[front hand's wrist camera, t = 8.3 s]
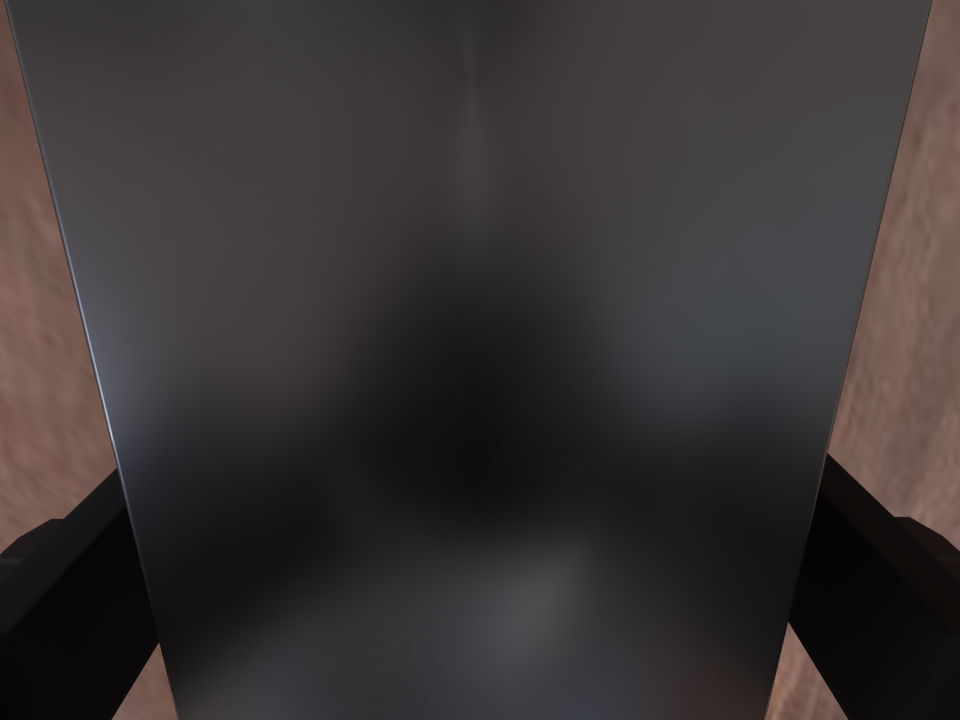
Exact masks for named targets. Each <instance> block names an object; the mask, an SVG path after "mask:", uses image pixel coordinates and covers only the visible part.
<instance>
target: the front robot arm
mask: <svg viewBox="0 0 960 720" xmlns="http://www.w3.org/2000/svg"><path fill="white" fill-rule="evenodd" d="M788 622H789V624H790V625H791V627H792V629H793V630H794V632H795V633H796V635H797V637H798V638H799V640H800V642H801V643H802V645H803V646H804V648H805V650H806V651H807V653H808V655H809V656H810V658H811V659H812V661H813V663H814V664H815V666H816V668H817V669H818V671H819V672H820V674H821V676H822V677H823V679H824V681H825V682H826V684H827V685H828V687H829V689H830V690H831V692H832V694H833V695H834V697H835V699H836V700H837V702H838V703H839V705H840V707H841V708H842V710H843V712H844V713H845V715H846V716H847V718H848V720H960V551H959V550H958V549H956V548H955V547H954V546H953V545H952V544H951V543H950V542H949V541H948V540H946V539H945V538H944V537H943V536H942V535H940V534H938V533H937V532H935V531H933V530H931V529H930V528H928V527H926V526H924V525H923V524H921V523H919V522H917V521H916V520H914V519H912V518H910V517H894V516H893V515H892V514H891V513H890V512H888V511H887V510H886V509H885V508H884V507H883V506H882V505H881V504H880V503H879V502H878V501H877V500H876V499H875V498H874V497H873V496H872V495H871V494H870V493H869V492H868V491H867V490H866V489H864V488H863V487H862V486H861V485H860V484H859V483H858V482H857V481H856V480H855V479H854V478H853V477H852V476H851V475H850V474H849V473H848V472H847V471H846V470H845V469H844V468H843V467H842V466H840V465H839V464H838V463H837V462H836V461H835V460H834V459H833V458H832V457H831V456H830V455H829V454H828V453H827V456H826V461H825V465H824V469H823V474H822V478H821V482H820V487H819V491H818V495H817V499H816V504H815V508H814V512H813V517H812V521H811V525H810V530H809V534H808V538H807V542H806V547H805V551H804V555H803V560H802V564H801V568H800V573H799V577H798V581H797V586H796V590H795V594H794V598H793V603H792V607H791V611H790V616H789V620H788ZM158 643H159V639H158V634H157V630H156V626H155V622H154V618H153V614H152V610H151V605H150V601H149V597H148V593H147V589H146V585H145V581H144V577H143V572H142V568H141V564H140V560H139V556H138V552H137V548H136V544H135V539H134V535H133V531H132V527H131V523H130V519H129V515H128V510H127V506H126V502H125V498H124V494H123V490H122V486H121V482H120V477H119V473H118V469H117V468H116V469H115V470H114V471H113V472H112V473H111V474H110V475H109V476H108V477H107V478H106V479H105V480H104V481H103V482H102V483H101V484H100V485H99V486H98V487H97V488H96V489H95V490H93V491H92V492H91V493H90V494H89V495H88V496H87V497H86V498H85V499H84V500H83V501H82V502H81V503H80V504H79V505H78V506H77V507H76V508H75V509H74V510H73V511H72V512H71V513H69V514H68V515H67V516H66V517H65V518H64V519H50V520H49V521H47V522H45V523H43V524H42V525H40V526H38V527H36V528H35V529H33V530H31V531H30V532H28V533H26V534H24V535H23V536H21V537H19V538H18V539H17V540H15V541H14V542H13V543H12V544H11V545H10V546H9V547H8V548H7V549H6V550H4V551H3V552H2V553H1V554H0V720H112V718H113V716H114V715H115V713H116V712H117V710H118V708H119V707H120V705H121V703H122V702H123V700H124V699H125V697H126V695H127V694H128V692H129V690H130V689H131V687H132V686H133V684H134V682H135V681H136V679H137V677H138V676H139V674H140V672H141V671H142V669H143V668H144V666H145V664H146V663H147V661H148V659H149V658H150V656H151V655H152V653H153V651H154V650H155V648H156V646H157V645H158Z"/></svg>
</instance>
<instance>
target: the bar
mask: <svg viewBox="0 0 960 720" xmlns="http://www.w3.org/2000/svg"><path fill="white" fill-rule="evenodd" d="M4 2H5V7H6V11H7V15H8V19H9V23H10V27H11V31H12V35H13V40H14V44H15V48H16V52H17V56H18V60H19V64H20V69H21V73H22V77H23V81H24V85H25V89H26V93H27V97H28V102H29V106H30V110H31V114H32V118H33V122H34V126H35V130H36V135H37V139H38V143H39V147H40V151H41V155H42V159H43V164H44V168H45V172H46V176H47V180H48V184H49V188H50V192H51V197H52V201H53V205H54V209H55V213H56V217H57V221H58V225H59V230H60V234H61V238H62V242H63V246H64V250H65V254H66V259H67V263H68V267H69V271H70V275H71V279H72V283H73V287H74V292H75V296H76V300H77V304H78V308H79V312H80V316H81V320H82V325H83V329H84V333H85V337H86V341H87V345H88V349H89V354H90V358H91V362H92V366H93V370H94V374H95V378H96V382H97V387H98V391H99V395H100V399H101V403H102V407H103V411H104V415H105V420H106V424H107V428H108V432H109V436H110V440H111V444H112V449H113V453H114V457H115V461H116V465H117V469H118V473H119V477H120V482H121V486H122V490H123V494H124V498H125V502H126V506H127V510H128V515H129V519H130V523H131V527H132V531H133V535H134V539H135V544H136V548H137V552H138V556H139V560H140V564H141V568H142V572H143V577H144V581H145V585H146V589H147V593H148V597H149V601H150V605H151V610H152V614H153V618H154V622H155V626H156V630H157V634H158V639H159V643H160V647H161V651H162V655H163V659H164V663H165V667H166V672H167V676H168V680H169V684H170V688H171V692H172V696H173V700H174V705H175V709H176V713H177V717H178V720H765V719H766V715H767V710H768V706H769V702H770V697H771V693H772V689H773V685H774V680H775V676H776V672H777V667H778V663H779V659H780V654H781V650H782V646H783V641H784V637H785V633H786V629H787V624H788V620H789V616H790V611H791V607H792V603H793V598H794V594H795V590H796V586H797V581H798V577H799V573H800V568H801V564H802V560H803V555H804V551H805V547H806V542H807V538H808V534H809V530H810V525H811V521H812V517H813V512H814V508H815V504H816V499H817V495H818V491H819V487H820V482H821V478H822V474H823V469H824V465H825V461H826V456H827V452H828V448H829V443H830V439H831V435H832V431H833V426H834V422H835V418H836V413H837V409H838V405H839V400H840V396H841V392H842V388H843V383H844V379H845V375H846V370H847V366H848V362H849V357H850V353H851V349H852V344H853V340H854V336H855V332H856V327H857V323H858V319H859V314H860V310H861V306H862V301H863V297H864V293H865V289H866V284H867V280H868V276H869V271H870V267H871V263H872V258H873V254H874V250H875V245H876V241H877V237H878V233H879V228H880V224H881V220H882V215H883V211H884V207H885V202H886V198H887V194H888V190H889V185H890V181H891V177H892V172H893V168H894V164H895V159H896V155H897V151H898V146H899V142H900V138H901V134H902V129H903V125H904V121H905V116H906V112H907V108H908V103H909V99H910V95H911V91H912V86H913V82H914V78H915V73H916V69H917V65H918V60H919V56H920V52H921V47H922V43H923V39H924V35H925V30H926V26H927V22H928V17H929V13H930V9H931V4H932V0H4Z"/></svg>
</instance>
